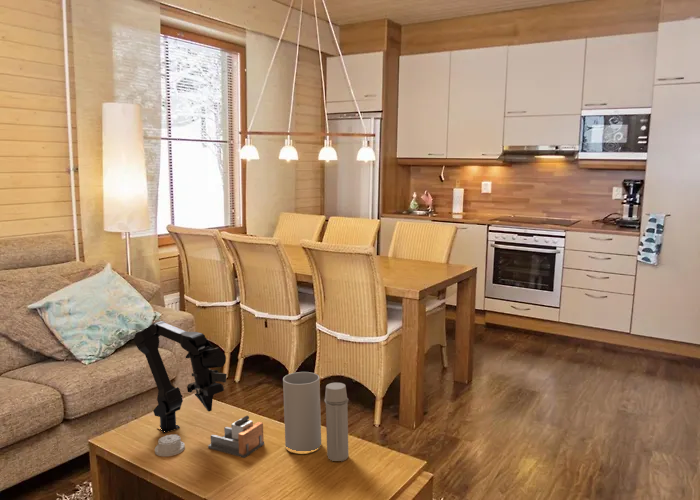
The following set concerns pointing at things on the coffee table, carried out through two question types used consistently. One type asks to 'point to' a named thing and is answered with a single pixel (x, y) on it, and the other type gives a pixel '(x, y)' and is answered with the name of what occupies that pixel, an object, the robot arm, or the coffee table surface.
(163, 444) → the mechanical component
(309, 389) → the cylinder vase
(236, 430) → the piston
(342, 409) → the water bottle
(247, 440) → the grey and orange holder
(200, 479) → the coffee table surface
